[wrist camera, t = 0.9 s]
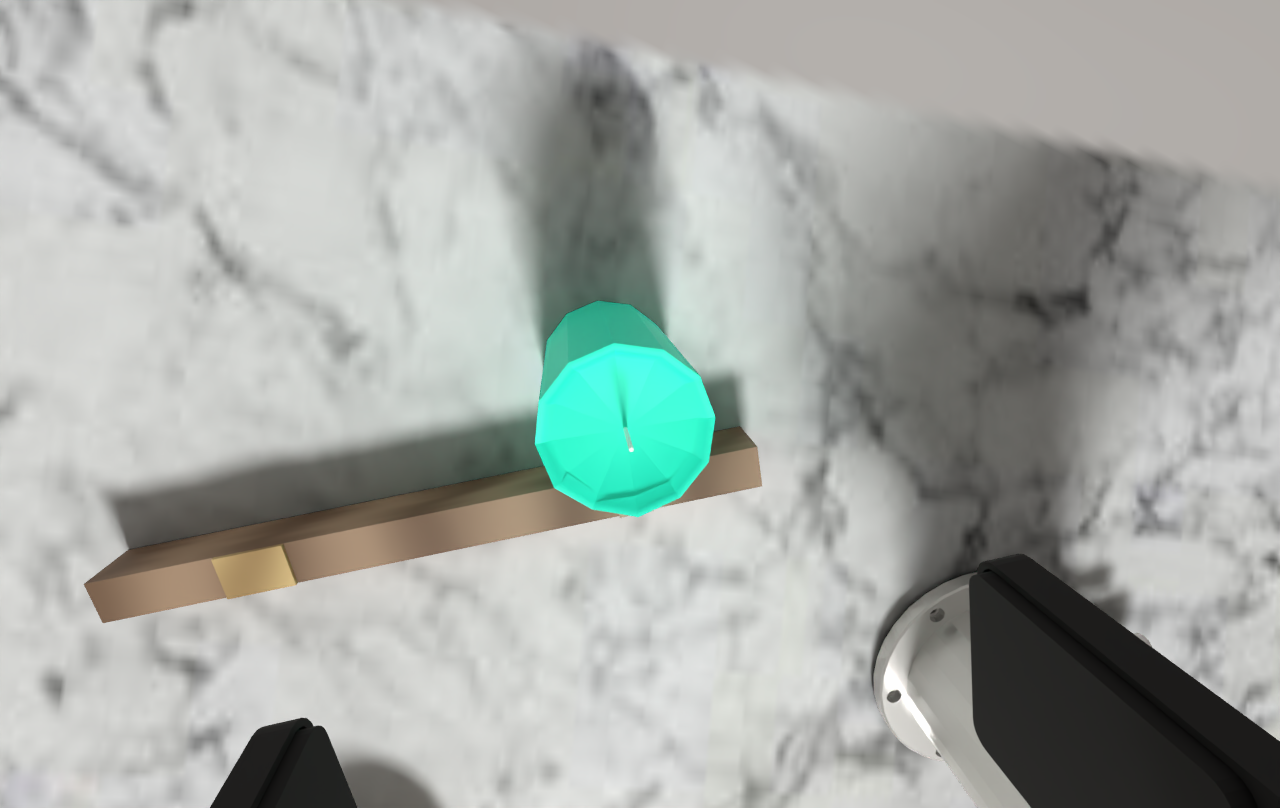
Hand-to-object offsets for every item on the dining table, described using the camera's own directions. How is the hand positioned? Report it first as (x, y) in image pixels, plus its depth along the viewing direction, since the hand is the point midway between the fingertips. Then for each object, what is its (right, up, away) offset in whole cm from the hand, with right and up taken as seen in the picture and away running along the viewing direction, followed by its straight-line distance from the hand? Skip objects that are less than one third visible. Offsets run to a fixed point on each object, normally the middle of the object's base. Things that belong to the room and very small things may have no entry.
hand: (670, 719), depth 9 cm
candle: (-2, +7, +22) cm, 23 cm away
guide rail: (-10, 0, +23) cm, 25 cm away
